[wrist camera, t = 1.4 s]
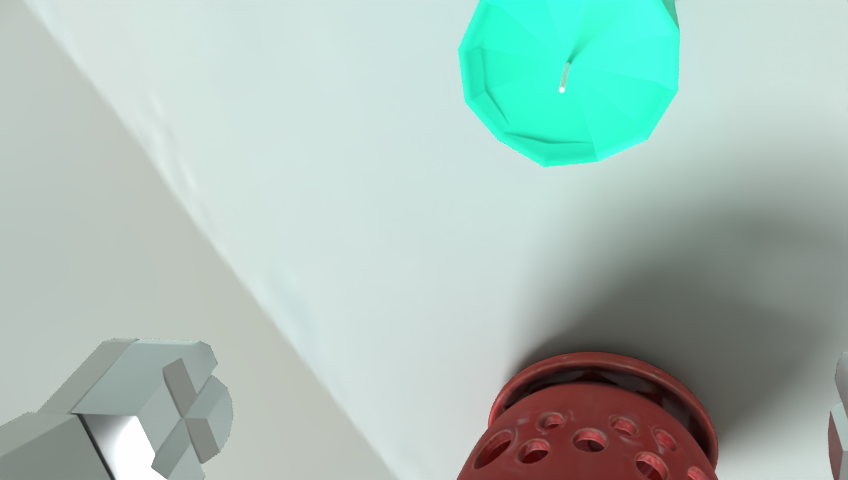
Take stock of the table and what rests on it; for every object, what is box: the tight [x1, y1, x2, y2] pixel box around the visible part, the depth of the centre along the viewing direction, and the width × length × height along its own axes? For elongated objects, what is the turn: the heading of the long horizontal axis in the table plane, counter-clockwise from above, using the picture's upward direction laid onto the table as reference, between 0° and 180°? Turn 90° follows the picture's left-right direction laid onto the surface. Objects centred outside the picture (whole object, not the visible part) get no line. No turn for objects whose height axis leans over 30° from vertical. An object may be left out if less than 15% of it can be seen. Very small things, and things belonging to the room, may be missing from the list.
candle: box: [458, 0, 680, 167], centre depth 24 cm, size 6×6×12 cm
